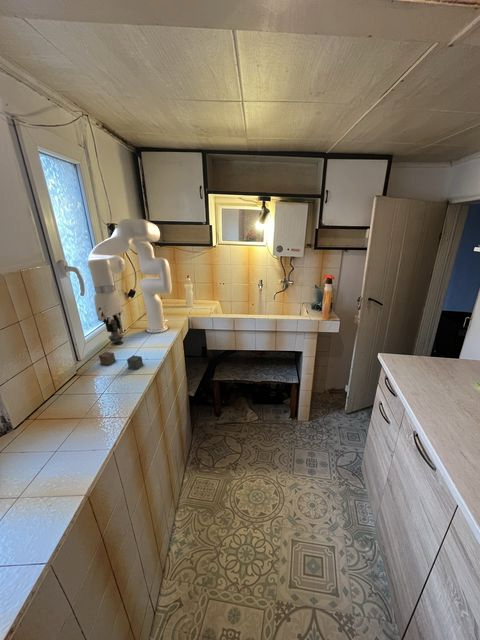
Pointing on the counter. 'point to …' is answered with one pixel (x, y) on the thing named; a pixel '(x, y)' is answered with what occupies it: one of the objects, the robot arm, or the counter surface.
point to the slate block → (135, 362)
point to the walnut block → (107, 358)
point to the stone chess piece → (115, 335)
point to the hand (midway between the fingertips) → (114, 329)
